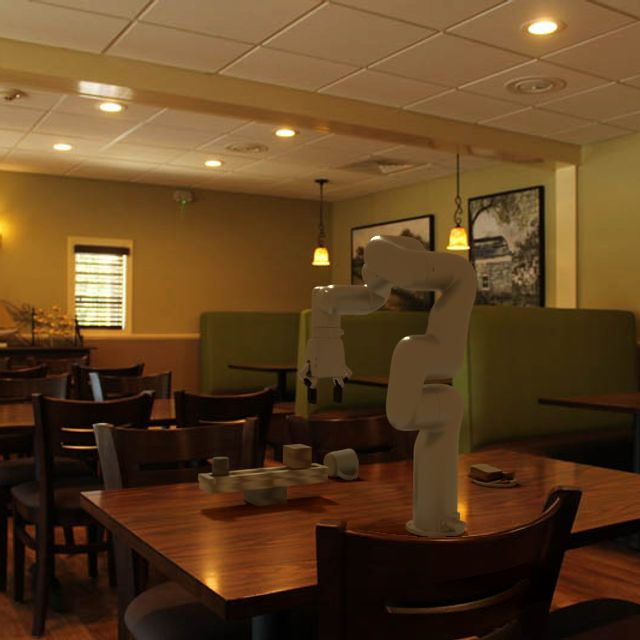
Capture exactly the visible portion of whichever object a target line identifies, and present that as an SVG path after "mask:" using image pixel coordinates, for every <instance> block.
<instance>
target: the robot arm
mask: <svg viewBox="0 0 640 640" xmlns="http://www.w3.org/2000/svg"><path fill="white" fill-rule="evenodd" d="M363 262H364V264H363V266H362V269H361V277H362V280H363V282H364V285H359V284H357V285H356V284H330V285H327V286H321V285H320V286H316V287H314V288H313V289H312V291H311V328H310V329H311V334H310V336H311V337H310V339H307V343H306V350H305V353H304V354H305V356H304V366H303V367H302V368H301V369H300V370H299V371H298V372H297V373H296V375H297V377H298V378H299V379H300V380H301V383H303V385H305V388H306V389H307V402H308V404H309V405H310V404H311V405H317V403H318V400H317V399H318V398H317V397H318V395H317V394H318V389H317V388H316V386H317V383H318V381H319V379H332V380H333V383H334V385H335V386H333V391H332V392H333V394H332V395H333V396H332V398H333V401H332V402H333V403H337V404H342V402H343V401H342V400H343V389H344V387H346V386H345V385H346V384H347V383H348V381H349V379H350V378H351V377H352V376H353V371H352V369H350V368H349V366H347V365H346V357H345V347H344V342H343V339H341V337H342V336H343V335H344V334H345V330H344V329H342V327H341V316H346V315H348V316H349V315H350V316H351V315H352V316H354V315H355V316H360V315H361V316H364V315H369V314H371V313H374V312H375V311H377V310H378V309H380V308H381V307H383V306H384V305H385V304H386V303H387V302H388V300H389V298H390V295H391V292H392V288H393V287H395V286H396V287H398V288H400V289H403V290H406V291H421V292H424V291H425V292H439V293H440V296H439V297H438V298H437V299H436V301H435V302H434V304H433V306H432V307H431V309H430V312H429V314H428V324H427V328H426V332H425V333H424V334H411V335H407V336H405V337H403V338H402V339H400V341H398V342H397V344H396V346H395V348H394V350H393V353H392V356H391V362H390V371H389V378H388V385H387V392H386V402H385V410H386V417H387V420H388V422H389V423H390V425H391V426H392V427H393V428H394V429H396V430H397V431H403V432H404V431H405V432H407V431H409V432H411V431H419V432H418V434H417V436H416V438H415V442H414V447H413V474H412V475H413V477H412V478H413V481H412V484H413V486H412V488H413V489H412V492H413V493H412V519H410V520H409V521H407V522H406V523H405V530H406V531H407V532H408V533H411V534H412V535H417V536H421V537H426V536H427V538H447V537H446V536H454V537H458V536H461V535H463V534H464V533H465V528H466V527H467V526H468V524H467V522H466V521H464V520H461V512H460V511H458V504H459V503H458V502H459V501H458V498H459V497H458V495H459V440H460V432H461V426H462V420H463V417H464V407H465V406H464V399H463V397H462V395H461V393H460V391H458V389H457V388H455V387H454V386H451V385H449V384H446V383H445V384H444V383H425V381H430V380H431V381H432V380H433V381H434V380H447V379H452V378H455V377H457V376H458V375H459V374H460V373H461V371H462V369H463V365H464V360H465V353H466V347H467V340H468V335H469V334H468V332H469V325H470V318H471V314H472V310H473V306H474V304H475V300H476V296H477V290H478V277H477V274H476V271H475V269H474V266H473V265H472V263H471V262H470V261H469V260H468V259H467V258H466V257H464V256H462V255H459V254H456V253H452V252H445V251H435V250H434V251H431V250H430V251H429V250H426V248H425V246H424V244H423V243H422V242H421V241H419V240H418V239H416V238H413V237H410V236H405V235H404V236H403V235H393V234H392V235H391V234H380V235H376V236H373V237H372V238H371V239H370V240H369V241H367V243H366V245H365V247H364V250H363ZM424 383H425V384H424Z"/></svg>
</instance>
